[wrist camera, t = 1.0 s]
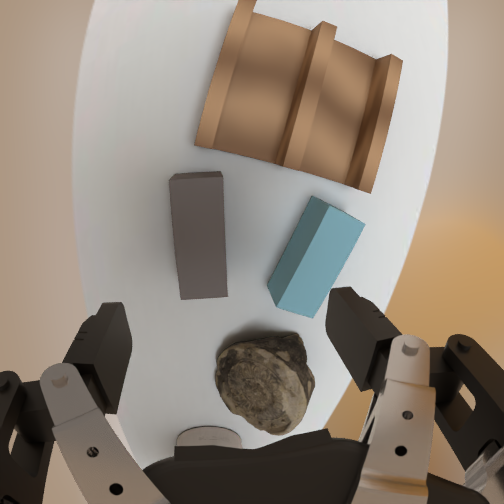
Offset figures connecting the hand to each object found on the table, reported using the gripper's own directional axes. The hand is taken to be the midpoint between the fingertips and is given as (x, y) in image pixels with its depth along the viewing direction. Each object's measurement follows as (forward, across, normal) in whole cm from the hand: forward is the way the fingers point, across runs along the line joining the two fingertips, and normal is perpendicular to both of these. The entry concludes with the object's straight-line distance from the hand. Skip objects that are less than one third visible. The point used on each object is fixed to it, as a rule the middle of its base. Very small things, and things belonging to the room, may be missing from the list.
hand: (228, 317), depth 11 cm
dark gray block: (+14, +1, 0) cm, 14 cm away
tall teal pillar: (+14, -8, +3) cm, 17 cm away
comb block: (+14, -7, -10) cm, 19 cm away
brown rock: (+15, -4, +16) cm, 22 cm away
